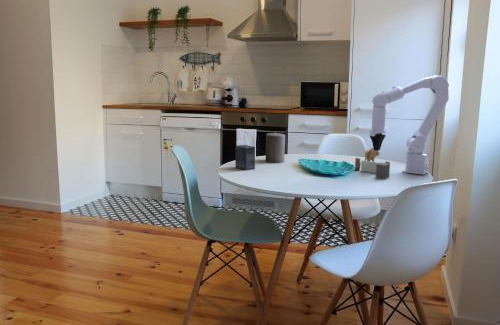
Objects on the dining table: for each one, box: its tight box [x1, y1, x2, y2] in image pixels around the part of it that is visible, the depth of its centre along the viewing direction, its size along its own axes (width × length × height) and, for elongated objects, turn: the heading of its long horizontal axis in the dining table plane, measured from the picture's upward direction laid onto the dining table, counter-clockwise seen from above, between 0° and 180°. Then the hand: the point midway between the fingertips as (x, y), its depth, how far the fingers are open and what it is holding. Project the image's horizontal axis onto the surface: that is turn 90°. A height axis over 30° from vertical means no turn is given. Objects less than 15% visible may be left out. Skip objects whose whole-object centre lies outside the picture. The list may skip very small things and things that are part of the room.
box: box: [235, 144, 256, 171], centre depth 218 cm, size 8×6×11 cm
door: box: [360, 159, 380, 173], centre depth 212 cm, size 10×2×4 cm, turn 54°
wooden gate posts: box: [354, 157, 391, 172], centre depth 212 cm, size 16×2×6 cm, turn 54°
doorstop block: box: [375, 162, 391, 180], centre depth 201 cm, size 4×5×6 cm
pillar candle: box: [265, 131, 286, 164], centre depth 236 cm, size 10×10×15 cm
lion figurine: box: [364, 147, 381, 162], centre depth 231 cm, size 15×5×9 cm, turn 6°
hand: (376, 150), depth 215 cm, fingers closed
